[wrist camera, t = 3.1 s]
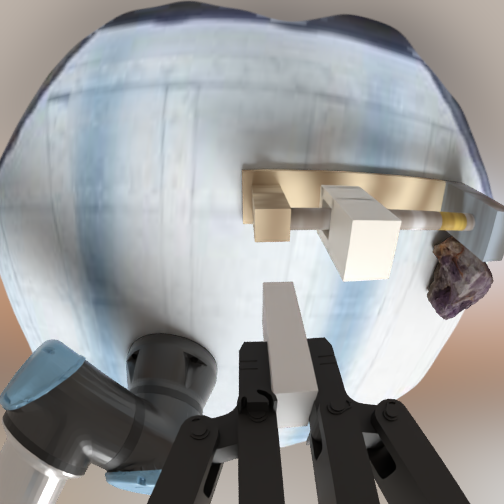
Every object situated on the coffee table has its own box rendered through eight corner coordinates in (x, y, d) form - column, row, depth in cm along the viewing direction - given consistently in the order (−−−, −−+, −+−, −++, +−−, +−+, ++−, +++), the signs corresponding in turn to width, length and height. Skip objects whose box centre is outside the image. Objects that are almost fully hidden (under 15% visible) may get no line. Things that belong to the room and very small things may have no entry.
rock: (412, 289, 41) (457, 284, 41) (433, 330, 34) (479, 321, 34) (436, 227, 34) (482, 227, 34) (467, 267, 27) (512, 263, 27)
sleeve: (317, 232, 29) (343, 281, 21) (320, 184, 27) (352, 220, 19) (353, 232, 29) (388, 278, 21) (358, 186, 27) (401, 220, 19)
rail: (243, 221, 33) (243, 272, 24) (242, 169, 31) (242, 201, 21) (454, 222, 34) (501, 260, 24) (462, 182, 31) (515, 213, 22)
